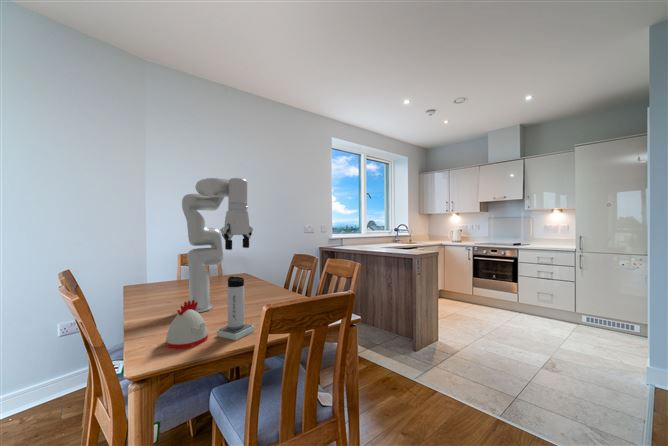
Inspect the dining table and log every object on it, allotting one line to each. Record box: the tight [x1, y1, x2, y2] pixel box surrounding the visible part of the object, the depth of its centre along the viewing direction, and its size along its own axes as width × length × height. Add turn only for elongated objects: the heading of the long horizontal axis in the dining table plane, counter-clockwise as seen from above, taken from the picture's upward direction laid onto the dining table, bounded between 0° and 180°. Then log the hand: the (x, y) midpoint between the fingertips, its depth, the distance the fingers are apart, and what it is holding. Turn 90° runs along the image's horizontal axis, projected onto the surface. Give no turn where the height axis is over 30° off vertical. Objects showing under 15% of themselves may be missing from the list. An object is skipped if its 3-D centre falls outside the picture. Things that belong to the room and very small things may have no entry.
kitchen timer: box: [165, 300, 209, 350], centre depth 105 cm, size 14×14×15 cm
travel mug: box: [227, 276, 245, 330], centre depth 112 cm, size 6×7×20 cm
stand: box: [216, 323, 255, 341], centre depth 112 cm, size 10×10×2 cm
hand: (237, 248), depth 117 cm, fingers open, 9 cm apart
